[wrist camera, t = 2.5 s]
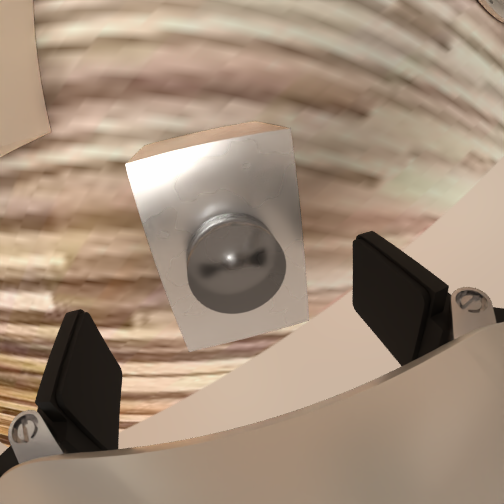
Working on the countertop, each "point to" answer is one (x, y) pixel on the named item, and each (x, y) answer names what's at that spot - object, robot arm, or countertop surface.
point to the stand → (19, 78)
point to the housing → (225, 230)
